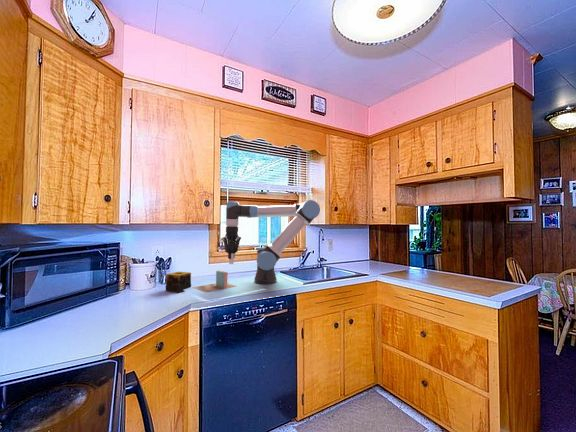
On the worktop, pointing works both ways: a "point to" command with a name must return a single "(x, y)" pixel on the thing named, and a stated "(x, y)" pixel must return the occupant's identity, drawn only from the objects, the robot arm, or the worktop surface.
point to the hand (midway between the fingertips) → (231, 263)
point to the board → (212, 287)
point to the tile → (221, 279)
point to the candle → (178, 281)
